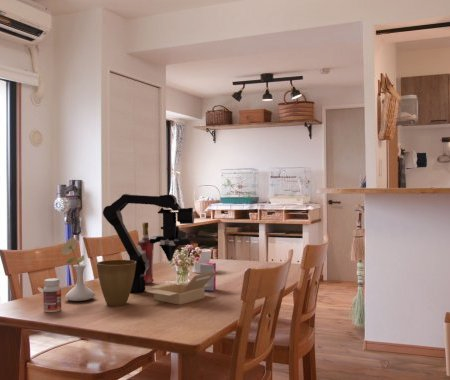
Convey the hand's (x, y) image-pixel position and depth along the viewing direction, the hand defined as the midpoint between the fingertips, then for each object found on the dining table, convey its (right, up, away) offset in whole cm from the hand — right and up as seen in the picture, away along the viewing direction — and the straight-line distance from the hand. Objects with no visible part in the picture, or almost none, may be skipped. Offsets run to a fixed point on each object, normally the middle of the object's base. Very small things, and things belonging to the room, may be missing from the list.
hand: (170, 260), depth 217 cm
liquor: (-13, -13, +19) cm, 26 cm away
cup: (+10, -13, +49) cm, 52 cm away
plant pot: (-18, -14, -21) cm, 31 cm away
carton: (+3, -13, -13) cm, 19 cm away
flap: (+11, -9, -19) cm, 23 cm away
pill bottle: (-39, -14, -31) cm, 52 cm away
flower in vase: (-35, -14, -14) cm, 40 cm away
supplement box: (+16, -13, +2) cm, 21 cm away
